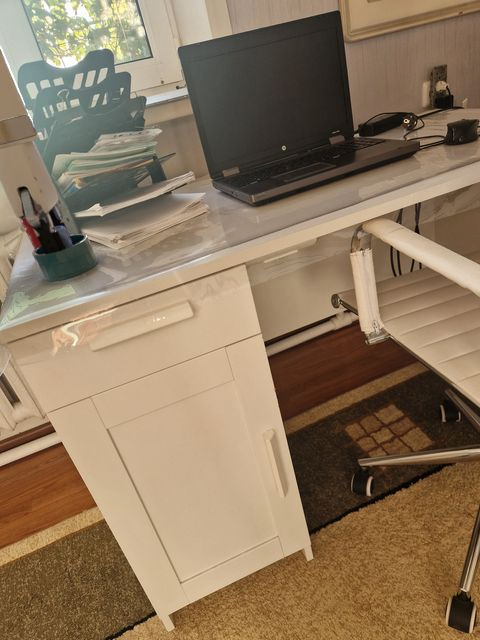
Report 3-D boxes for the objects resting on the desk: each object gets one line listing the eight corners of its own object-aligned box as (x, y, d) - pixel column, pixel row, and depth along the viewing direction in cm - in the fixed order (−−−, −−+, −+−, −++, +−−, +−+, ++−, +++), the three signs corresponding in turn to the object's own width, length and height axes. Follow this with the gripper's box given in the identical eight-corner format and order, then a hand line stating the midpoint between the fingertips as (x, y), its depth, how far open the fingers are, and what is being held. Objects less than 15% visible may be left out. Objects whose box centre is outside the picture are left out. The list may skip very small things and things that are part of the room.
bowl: (65, 282, 73) (52, 256, 71) (34, 279, 78) (21, 254, 76) (108, 259, 79) (97, 234, 77) (76, 257, 84) (66, 233, 82)
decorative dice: (50, 253, 78) (39, 230, 76) (74, 246, 79) (64, 223, 77) (49, 260, 75) (38, 236, 73) (74, 252, 76) (63, 229, 74)
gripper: (-1, 134, 74) (49, 243, 84) (-39, 147, 60) (26, 276, 69) (46, 124, 75) (89, 232, 84) (19, 133, 60) (76, 263, 70)
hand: (60, 251), depth 77 cm, fingers closed on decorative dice, 4 cm apart
